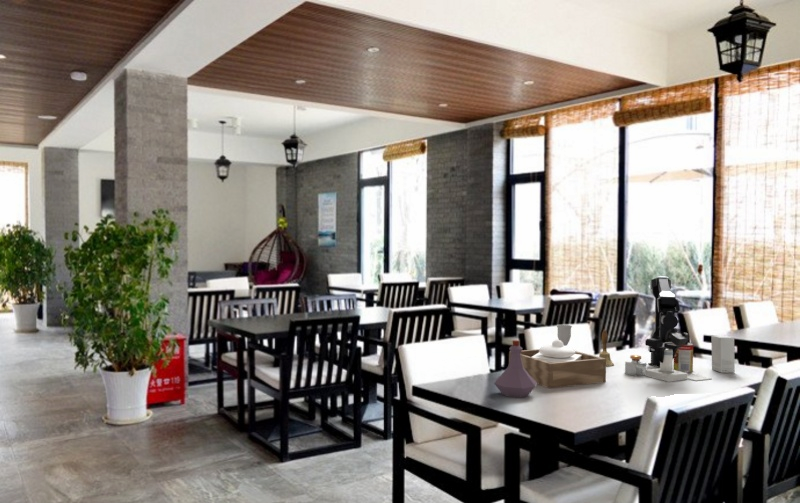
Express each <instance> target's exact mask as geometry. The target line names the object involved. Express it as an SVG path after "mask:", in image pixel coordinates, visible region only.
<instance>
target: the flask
mask: <svg viewBox="0 0 800 503" xmlns="http://www.w3.org/2000/svg"><path fill="white" fill-rule="evenodd" d="M508 349H509V352H510V351H511V358H510V361H509V360H508V365H507V367H506V368H505V369H504V371H503V372H502V373H501V374H500V375H499V376H498V377H497V378H496V379H495V381H494V382H493V384H494V386H495V387H496V388H497V390H499V392H500V393H501V394H502V395H503V396H505V397H508V398H518V399H519V398H526V397H528V396H529V395H530V394H531V392H532V391H533V390H534V389H535V388H536V386H537V385H538V384H537V382H536V381H535V380H534V379H533V378H532V377H531V376H530V375H529V374H528V372H527V371H526V370H525V368H524V367H523V363H522V359H521V351H523V347H522V346H520V340H517V339H515V340H512V345H511V346H510V347H509V348H508Z"/></svg>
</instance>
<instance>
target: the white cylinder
mask: <svg viewBox="0 0 800 503" xmlns="http://www.w3.org/2000/svg"><path fill="white" fill-rule="evenodd" d="M673 364H674V358H673V350H672V349H665V350H664V360H663V363H661V362H660V367H659V368H660V371H664V372H672V370H673Z"/></svg>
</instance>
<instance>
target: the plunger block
mask: <svg viewBox="0 0 800 503" xmlns="http://www.w3.org/2000/svg"><path fill="white" fill-rule="evenodd" d="M624 363H625V364H624V373H625V374H628V375H631V376H635V377H638V376H639V377H640V376H645V370H647V362H642V361H640V363H637V364H635V363H632V360H629V361H628V360H627V361H625V362H624Z"/></svg>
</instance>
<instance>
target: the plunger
mask: <svg viewBox="0 0 800 503" xmlns="http://www.w3.org/2000/svg"><path fill="white" fill-rule="evenodd" d="M629 358H630V359H631V361H632V363H635V364H637V363H640V362H641V359H642V356H641V355H639V354H631V355H630V357H629Z"/></svg>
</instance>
